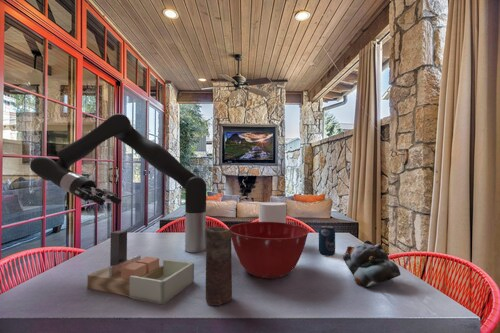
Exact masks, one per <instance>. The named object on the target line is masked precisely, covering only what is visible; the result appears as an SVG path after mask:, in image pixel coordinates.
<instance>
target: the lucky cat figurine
mask: <svg viewBox="0 0 500 333" xmlns="http://www.w3.org/2000/svg"><path fill="white" fill-rule="evenodd" d="M342 259H343V262H344V263H345V265H346V266H347V268H348V270H349V271H350V273H351V275H352V277H353V280H354V282H355V283H356V285H358V286H360V287H362V288H365V289H366V288H367V287H372V286H374V285H378V284H379V283H384V282H386V281H390V280H393V279H395V278H397V277H400V276H401V271H400V269H399V266H398V265H397V264H396V263H395V262H394V261H392V260H390V258H389V256H388V254H387V252H386V251H385V250H384V248H383V245H382V244H380V243H377V244H375V245H374V244H373V243H372V242H371V241H370V240H366V241H364V242H363V243H359V244H357V245H355V246H350V245H349V246H347V247H346V251H345V253H343V254H342Z"/></svg>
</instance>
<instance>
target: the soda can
mask: <svg viewBox="0 0 500 333" xmlns="http://www.w3.org/2000/svg"><path fill="white" fill-rule="evenodd" d="M318 253H319V254H320V256H321V255H322V256H325V257H332V256H334V255H335V254H336V230H335V227H334V226H333V225H330V224H329V225H328V224H322V225H319V229H318Z"/></svg>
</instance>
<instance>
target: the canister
mask: <svg viewBox="0 0 500 333" xmlns="http://www.w3.org/2000/svg"><path fill="white" fill-rule="evenodd" d="M258 222H280V223H287V202H283V201H281V202H280V201H262V202H258Z"/></svg>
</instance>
